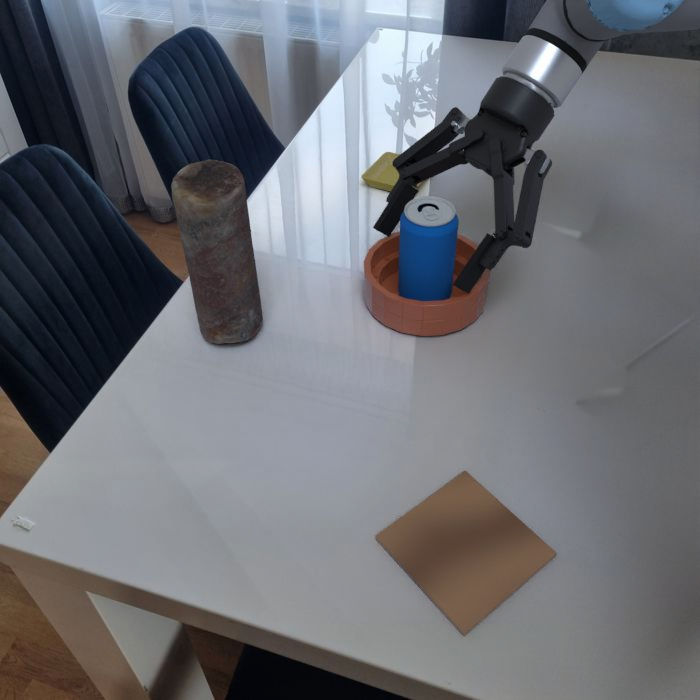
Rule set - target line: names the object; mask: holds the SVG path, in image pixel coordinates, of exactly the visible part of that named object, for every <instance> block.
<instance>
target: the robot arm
mask: <svg viewBox="0 0 700 700" xmlns="http://www.w3.org/2000/svg"><path fill="white" fill-rule="evenodd" d="M696 30H698V31H699V30H700V0H545V2H544V3H543V5H542V7H541V8H540V10H539V11H538V13H537V15H536V16H535V17H534V19H533V21H532V23H531V24H530V26H529V27H528V28H527V30H526V31H525V33H524V35H523V36H522V37H521V38H520V40H519V42H518V43H517V44H516V46H515V48H514V49H513V51H512V52H511V54H510V55H509V57H508V58H507V60H506V62H505V63H504V65H502V68H501V72H502V75H501V76H499V77H496V78H495V79H494V81H493V83H492V84H491V86H490V87H489V88H488V90H487V92H486V93H485V95H484V97H483V98H482V99H481V101H480V103H479V104H480V105H479V108H478V112H477V113H476V115H475V116H473V117H472V118H470V117H468V116H467V115H466V114H465V113H464V112H462V110H461V109H459V108H458V107H457V106H455V107H452V108H451V109H450V110H449V112H448V113H447V114H446V116H445V117H444V119H442V121H441V122H440V123H439V124H438V125H436V126H435V127H434V128H432V129H431V130H429V131H428V132H427V133H426V134H425V135H423V136H422V137H421V138H419V139H418V140H417V141H416V142H414V143H413V144H412V145H410V146H409V147H408V148H407V149H406V150H404V151H403V152H401V153H399V154H400V155H399V156H398V157H396V158H395V159H394V160H393V163H392V165H393V167H395V168H396V170H397V171H398V173H399V179H398V181H397V182H396V184H395V185H394V187H393V189H392V190H391V191H389V193H388V195H387V196H386V200H385V202H386V203H387V205H386V206H385V207H384V209H383V210H382V212H381V213H380V215H379V217H378V218H377V220H376V221H375V223H374V225H373V226H372V228H373V229H374V230H376V231H377V232H379V233H380V234H383V235H384V236H385V237H387V236H388V237H390V235H391V234H393V233H394V231H395V229H396V227H397V225H398V224H400V217H401V215H402V213H403V211H404V209H405V206H406V204H407V203H408V202H410V201H411V200H413V199H415V198H416V196H417V194H418V193H419V189H418V188H419V187H418V185H417V184H419V183H421V182H422V183H423V182H426V181H427V180H429V179H431V178H434V177H437V176H438V175H441V174H442V173H445V172H446V171H449V170H452V169H453V168H455V167H457V166H459V165H463V166H464V165H467V164H469V165H470V166H472V167H474V168H475V169H477V170H481V171H483V172H484V173H485V174H486V175H488V176H490V178H492V180H493V203H494V204H493V206H494V207H493V208H494V231H495V232H494V231H493V232H492V234H490V233H488V232H487V233H486V234H485V236H484V237H483V238H482V240H481V241H480V242H479V244H478V248H477V249H476V251H475V252H474V253H473V255H472V256H471V258H470V259H469V261H468V262H467V264H466V265H465V267H464V268H463V270H462V271H461V273H460V274H459V276H458V277H457V279H456V280H455V282H454V283H453V285H454V286H456V287H457V288H459V289H461V290H463V291H465V292H466V293H468V294H469V293H470V291H471V290H472V288H473V287H474V285H475V284H476V282H477V281H478V279H479V278H480V277H481V275H482V274H483V272H484V271H485V269H486V268H487V269H488V270H490V272H491V271H492V270H493V269H495V267H496V266H497V264H498V263H499V262H500V260H501V259H502V258H503V256H504V255H505V253H506V252H507V250H508V249H509V248H511V247H513V246H515V247H521V248H523V249H528V248H530V247H531V246H532V243H533V238H534V233H535V228H536V222H537V217H538V212H539V206H540V201H541V196H542V192H543V187H544V180H545V179H546V177H547V176H548V173H549V171H550V169H551V168H552V166H553V161H552V159H551V158H550V157H549V156H548V154H546V152H545V151H544V150H543V149H536V150H533V149H532V148H533V145H534V144H535V142H537V141H538V140H540V138H542V135H543V134H544V133H545V131H546V129H547V128H548V126H549V125H550V123H551V122H552V121H553V119H554V118H555V109H557V108H560V107H562V105H563V103H564V102H565V101H566V99H567V98H568V96H569V95H570V93H571V92H572V90H573V89H574V87H575V86H576V84H577V83H578V81H579V80H580V78H581V77H582V75H583V74H584V72H585V71H586V70H587V68H588V66H589V64H590V63H591V62H592V60H593V59H594V58H595V56H596V55H597V53H598V52H599V51H600V49H601V48H602V46H603V44H604V43H605V42H606V41H609V40H613V39H615V38H618V37H621V36H624V35H633V34H646V33H647V34H649V33H664V32H666V33H667V32H681V31H682V32H683V31H696ZM463 134H464V136H462V137H460V138H458V139H457V137H458V136H459V135H463ZM455 139H456V140H455ZM447 145H448V146H447ZM446 146H447V147H446ZM522 164H524V168H525V169H524V174H523V177H522V182H521V188H520V193H519V197H518V202H517V208H516V213H515V199H514V185H515V183H516V182H515V180H516V179H515V168H516V167H518V166H520V165H522ZM422 183H421V184H422ZM414 187H415V188H414ZM416 188H417V189H416Z"/></svg>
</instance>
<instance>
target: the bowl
mask: <svg viewBox="0 0 700 700" xmlns="http://www.w3.org/2000/svg"><path fill="white" fill-rule="evenodd" d="M399 237H400V231H396V232H392V234H391V235H390V237H388V236H384V237H383V238H380V239H379V240H377V241H376V242H375V243H374V244H373V245H372V246H371V247H370V248H369V249H368V251H367V253H366V255H365V257H364V260H363V295H364V303H365V305H366V307H367V309H368V311H369V312H370V314H371V315H372V317H374V318H375V319H376V320H377V321H378V322H379V323H381V324H382V325H383V326H385V327H388V328H390V329H392V330H395V331H397V332H399V333H402V334H408V335H413V336H419V337H433V336H434V337H437V336H444V335H449V334H450V333H451V334H452V333H455V332H458V331H461V330H463V329H464V328H466V327H468V326H469V325H471V324H472V323H474V322H476V320H477V319H479V317H480V315H481V314H482V313H483V312H484V310H485V306H486V301H487V296H488V290H489V289H488V288H489V281H490V275H491V271H490V270H488V269H487V268H486V269H485V271H484V272H483V274H482V275H481V277H480V278H479V279H478V281H477V282H476V284H475V285H474V287H473V288H472V290H471V291H470V293H469V294H468V293H466V292H465V291H463V290H461V289H459V288H457V287H456V286H454V285H452V293H451V296H450V298H449V299H446V300H441V301H418V300H412V299H406V298H403V297H401V296H400V295H399V292H398V274H399ZM478 246H479V244H477V243H475V242H474V241H472V240H471V239H469V238H467V237H466V236H464V235H462V234H459V233H458V235H457V245H456V255H455V265H454V275H453V283H454V282H455V280H456V279H457V277H458V276H459V274H460V273H461V271H462V270H463V268H464V267H465V265H466V264H467V262H468V261H469V259H470V258H471V256H472V255H473V253H474V252H475V251H476V249H477V248H478Z"/></svg>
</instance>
